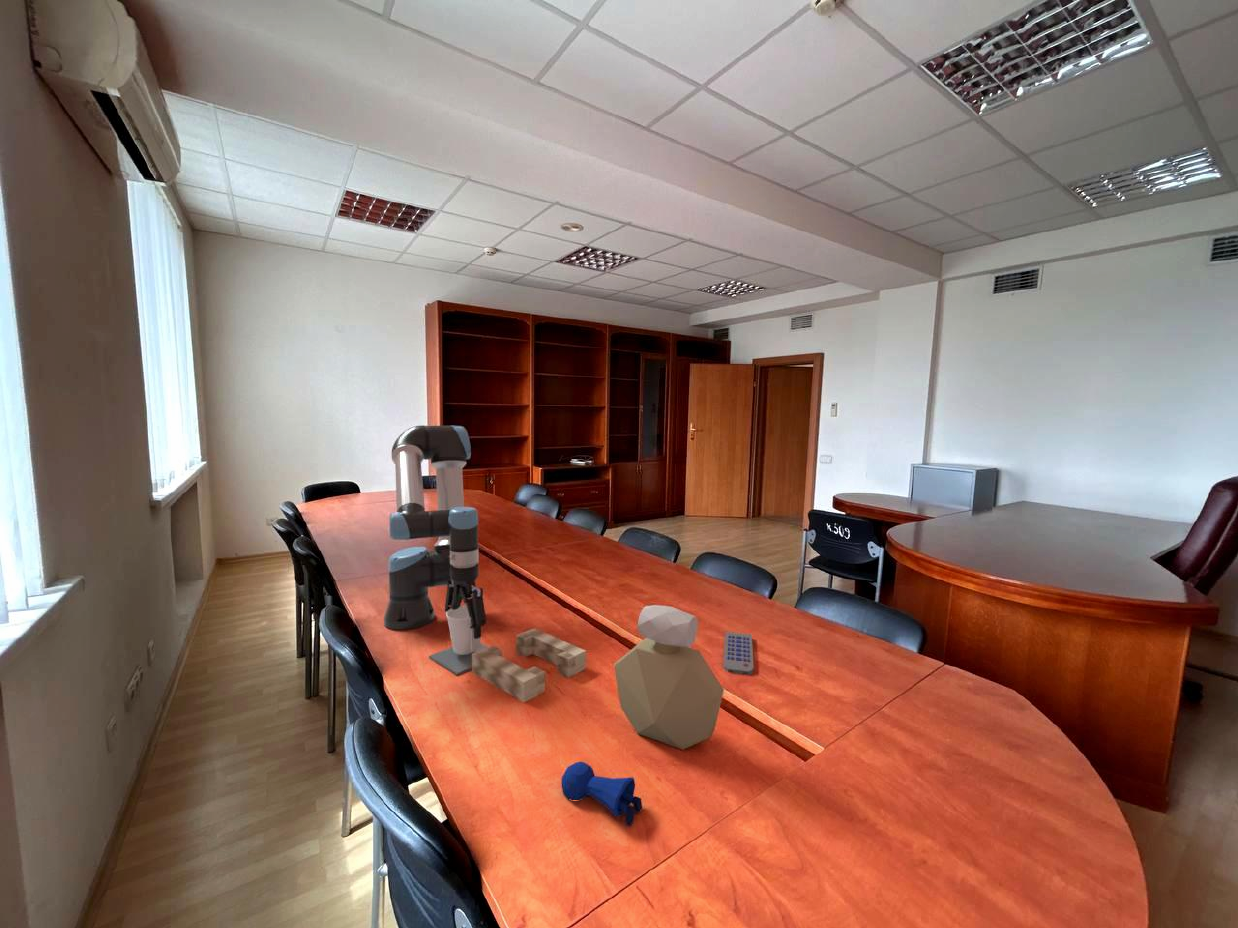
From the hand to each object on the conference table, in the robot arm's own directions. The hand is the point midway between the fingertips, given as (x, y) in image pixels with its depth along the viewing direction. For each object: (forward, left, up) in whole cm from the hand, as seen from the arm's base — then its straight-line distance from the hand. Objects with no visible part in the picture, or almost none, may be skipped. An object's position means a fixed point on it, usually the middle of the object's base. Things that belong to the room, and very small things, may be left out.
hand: (465, 642), depth 136 cm
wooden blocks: (+19, +7, -4) cm, 21 cm away
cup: (0, 0, -2) cm, 2 cm away
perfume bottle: (+61, +9, -4) cm, 62 cm away
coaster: (0, 0, -4) cm, 4 cm away
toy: (+62, -14, -5) cm, 64 cm away
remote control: (+56, +53, -5) cm, 77 cm away
